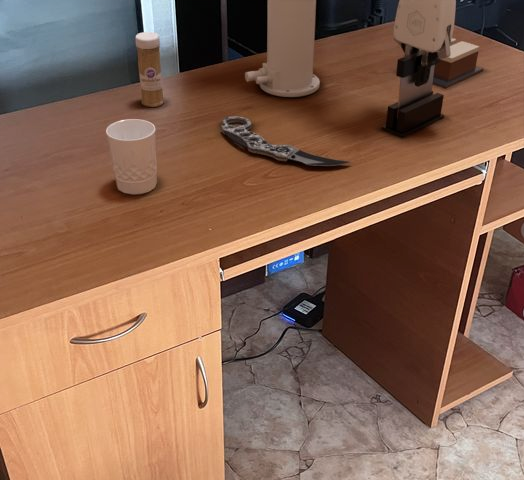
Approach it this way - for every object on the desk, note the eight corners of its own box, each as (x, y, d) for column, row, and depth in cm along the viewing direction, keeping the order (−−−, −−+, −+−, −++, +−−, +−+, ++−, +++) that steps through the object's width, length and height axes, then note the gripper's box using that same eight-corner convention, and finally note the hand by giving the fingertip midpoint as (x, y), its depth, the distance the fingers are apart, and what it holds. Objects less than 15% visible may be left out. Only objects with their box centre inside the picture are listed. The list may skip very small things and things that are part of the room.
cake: (445, 88, 165) (449, 61, 161) (399, 72, 171) (403, 46, 167) (483, 70, 172) (488, 44, 168) (438, 56, 179) (442, 31, 175)
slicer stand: (402, 138, 147) (405, 114, 144) (381, 129, 149) (383, 106, 146) (444, 117, 154) (447, 95, 151) (422, 109, 156) (426, 87, 153)
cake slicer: (398, 120, 147) (404, 61, 140) (392, 118, 147) (397, 59, 141) (434, 104, 152) (441, 46, 146) (427, 102, 153) (434, 44, 146)
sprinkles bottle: (145, 109, 156) (138, 40, 147) (139, 100, 159) (132, 32, 150) (167, 105, 157) (162, 37, 148) (160, 97, 160) (155, 29, 152)
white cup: (140, 201, 128) (134, 144, 122) (103, 188, 132) (95, 132, 125) (169, 181, 134) (165, 126, 127) (133, 169, 137) (127, 114, 130)
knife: (352, 158, 137) (314, 174, 132) (351, 166, 138) (314, 183, 133) (240, 111, 153) (201, 124, 147) (240, 119, 154) (201, 132, 148)
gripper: (382, -29, 137) (370, 75, 149) (457, -7, 128) (438, 101, 140) (409, -37, 141) (395, 65, 153) (483, -16, 132) (462, 90, 144)
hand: (416, 81), depth 147 cm, fingers closed on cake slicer, 1 cm apart
